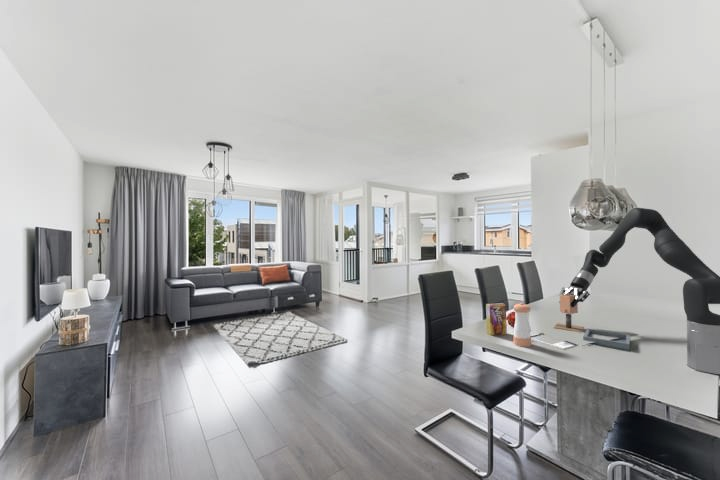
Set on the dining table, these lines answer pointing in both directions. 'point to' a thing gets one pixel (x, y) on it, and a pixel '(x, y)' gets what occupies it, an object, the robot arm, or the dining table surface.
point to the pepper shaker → (522, 325)
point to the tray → (617, 343)
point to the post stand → (568, 325)
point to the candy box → (496, 319)
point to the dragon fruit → (511, 318)
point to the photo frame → (559, 345)
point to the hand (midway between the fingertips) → (566, 305)
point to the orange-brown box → (567, 304)
